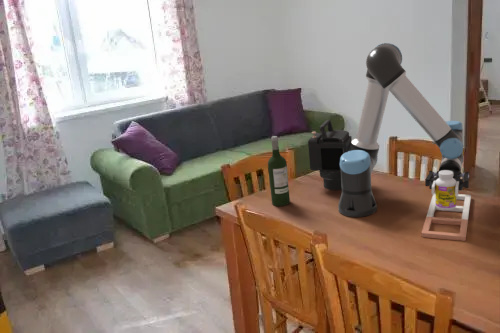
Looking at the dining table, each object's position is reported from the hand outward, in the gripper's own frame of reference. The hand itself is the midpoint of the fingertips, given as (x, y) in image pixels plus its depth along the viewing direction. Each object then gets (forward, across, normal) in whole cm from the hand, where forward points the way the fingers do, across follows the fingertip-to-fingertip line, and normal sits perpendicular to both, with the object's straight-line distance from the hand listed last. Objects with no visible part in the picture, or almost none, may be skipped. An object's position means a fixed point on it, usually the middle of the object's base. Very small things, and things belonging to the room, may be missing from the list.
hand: (444, 191), depth 162 cm
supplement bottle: (-5, 0, -8) cm, 9 cm away
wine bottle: (-18, +68, -16) cm, 73 cm away
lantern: (-43, +52, -16) cm, 69 cm away
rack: (-17, 0, -17) cm, 24 cm away
